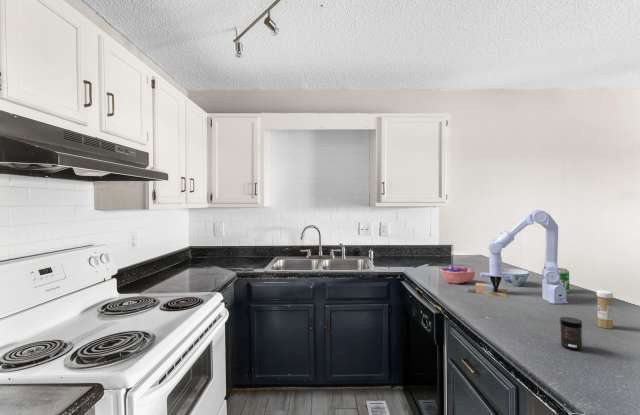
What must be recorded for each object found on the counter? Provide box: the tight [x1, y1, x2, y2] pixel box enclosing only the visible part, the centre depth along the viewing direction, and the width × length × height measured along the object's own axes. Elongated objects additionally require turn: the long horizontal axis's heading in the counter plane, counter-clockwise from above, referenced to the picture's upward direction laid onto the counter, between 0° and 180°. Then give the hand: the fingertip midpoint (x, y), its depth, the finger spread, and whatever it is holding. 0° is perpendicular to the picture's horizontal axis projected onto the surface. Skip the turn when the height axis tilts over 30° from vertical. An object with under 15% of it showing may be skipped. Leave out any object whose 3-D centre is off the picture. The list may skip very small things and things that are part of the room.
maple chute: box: [467, 287, 509, 298], centre depth 167 cm, size 20×14×2 cm
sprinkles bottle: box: [596, 289, 614, 330], centre depth 120 cm, size 5×5×13 cm
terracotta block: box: [475, 282, 485, 294], centre depth 168 cm, size 4×5×4 cm
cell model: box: [439, 264, 476, 285], centre depth 190 cm, size 17×20×11 cm
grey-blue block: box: [483, 283, 494, 292], centre depth 166 cm, size 4×5×4 cm
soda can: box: [558, 267, 571, 294], centre depth 167 cm, size 8×8×12 cm
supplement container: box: [559, 316, 584, 352], centre depth 104 cm, size 6×6×9 cm
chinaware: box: [502, 268, 530, 287], centre depth 184 cm, size 15×15×8 cm
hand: (496, 291), depth 164 cm, fingers closed
